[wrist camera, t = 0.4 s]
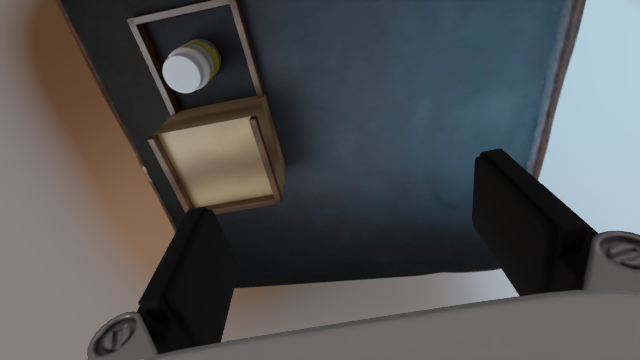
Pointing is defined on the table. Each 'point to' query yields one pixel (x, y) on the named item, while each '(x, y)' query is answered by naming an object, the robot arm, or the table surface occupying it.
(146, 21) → the shelf rack
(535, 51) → the table surface
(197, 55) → the supplement bottle
